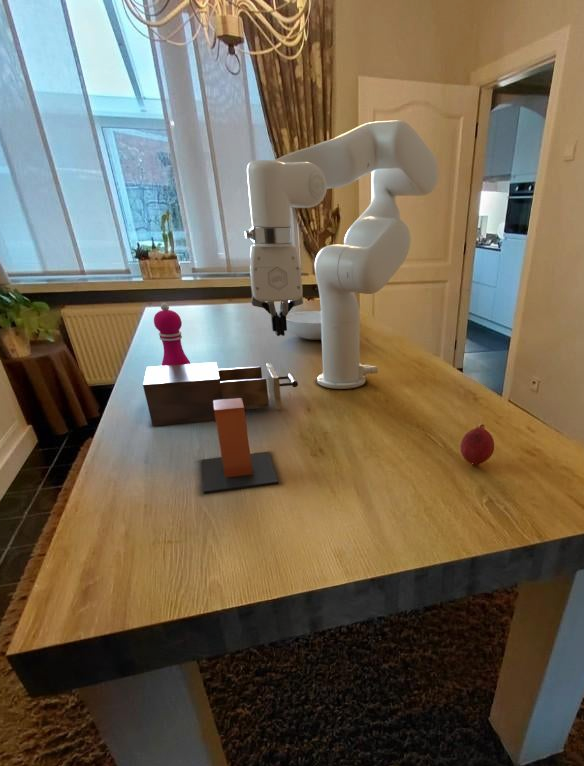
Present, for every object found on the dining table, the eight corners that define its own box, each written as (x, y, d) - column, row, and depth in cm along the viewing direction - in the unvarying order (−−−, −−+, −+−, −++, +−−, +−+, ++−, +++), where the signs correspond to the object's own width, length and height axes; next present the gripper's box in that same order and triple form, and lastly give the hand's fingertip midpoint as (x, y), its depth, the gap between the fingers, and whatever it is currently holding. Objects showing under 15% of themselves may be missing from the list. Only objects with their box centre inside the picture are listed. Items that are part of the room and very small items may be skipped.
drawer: (292, 390, 120) (290, 361, 116) (301, 406, 110) (299, 376, 107) (215, 397, 115) (211, 367, 111) (218, 414, 106) (213, 383, 102)
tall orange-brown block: (250, 462, 88) (241, 397, 81) (252, 474, 84) (244, 407, 78) (223, 466, 87) (212, 400, 80) (225, 478, 83) (214, 410, 77)
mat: (268, 453, 92) (268, 451, 92) (278, 483, 82) (278, 481, 82) (202, 461, 89) (201, 459, 89) (203, 493, 79) (203, 491, 79)
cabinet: (222, 399, 116) (216, 362, 112) (225, 419, 106) (219, 378, 101) (155, 405, 113) (146, 366, 108) (152, 426, 102) (142, 384, 98)
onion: (483, 476, 86) (490, 433, 81) (453, 467, 88) (458, 425, 84) (495, 463, 90) (502, 422, 86) (465, 455, 92) (471, 415, 88)
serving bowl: (344, 345, 161) (344, 323, 158) (280, 344, 161) (279, 322, 158) (347, 331, 179) (347, 310, 175) (290, 330, 179) (288, 310, 175)
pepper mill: (186, 394, 119) (170, 306, 108) (159, 392, 120) (140, 304, 109) (201, 385, 125) (186, 300, 114) (175, 383, 126) (158, 299, 115)
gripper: (235, 238, 92) (246, 340, 101) (313, 238, 96) (317, 336, 105) (232, 236, 98) (243, 332, 108) (306, 236, 102) (310, 329, 111)
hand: (279, 334), depth 106 cm, fingers closed
